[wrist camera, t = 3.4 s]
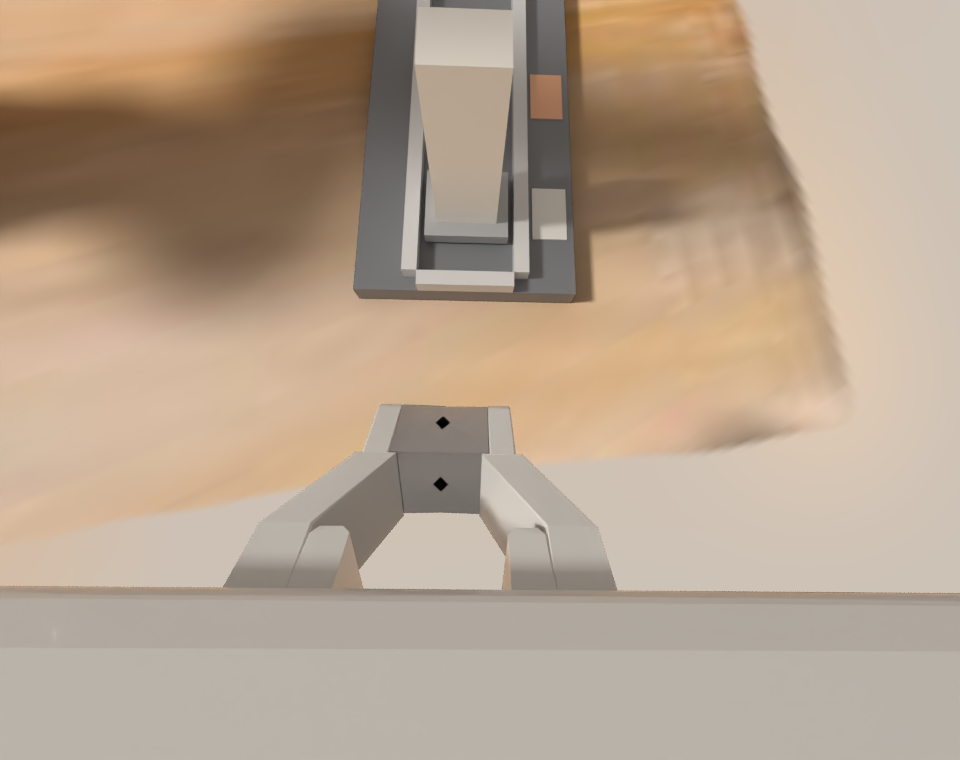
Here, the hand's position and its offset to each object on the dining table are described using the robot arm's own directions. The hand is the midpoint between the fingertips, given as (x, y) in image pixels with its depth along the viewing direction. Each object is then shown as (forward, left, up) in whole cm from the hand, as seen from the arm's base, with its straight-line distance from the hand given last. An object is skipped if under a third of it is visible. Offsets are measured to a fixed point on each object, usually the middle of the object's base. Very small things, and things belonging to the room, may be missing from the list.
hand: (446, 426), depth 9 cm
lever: (0, +16, -15) cm, 22 cm away
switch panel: (0, +24, -16) cm, 29 cm away
